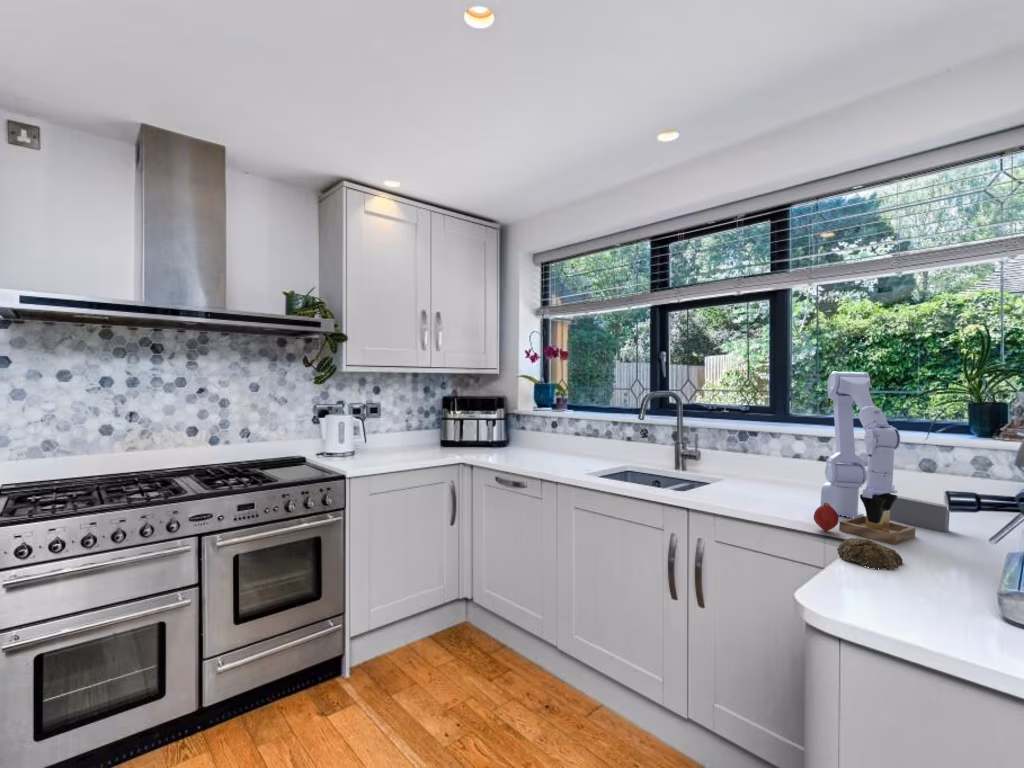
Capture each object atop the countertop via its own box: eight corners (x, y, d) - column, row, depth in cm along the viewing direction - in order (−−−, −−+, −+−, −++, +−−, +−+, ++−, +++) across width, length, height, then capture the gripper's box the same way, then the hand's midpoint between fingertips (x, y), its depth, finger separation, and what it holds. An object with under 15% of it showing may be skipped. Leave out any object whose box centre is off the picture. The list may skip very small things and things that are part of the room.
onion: (815, 526, 144) (816, 498, 144) (839, 531, 140) (840, 502, 140) (811, 531, 139) (812, 502, 139) (836, 536, 136) (837, 506, 136)
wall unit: (886, 518, 154) (887, 495, 154) (891, 517, 156) (892, 494, 156) (944, 532, 142) (946, 507, 142) (948, 530, 144) (950, 505, 144)
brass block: (865, 529, 140) (866, 507, 139) (872, 527, 142) (873, 506, 142) (882, 533, 136) (883, 511, 136) (888, 531, 138) (890, 509, 138)
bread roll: (844, 547, 128) (845, 527, 128) (905, 562, 119) (907, 540, 119) (828, 559, 119) (829, 538, 119) (893, 576, 110) (895, 553, 110)
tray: (839, 530, 141) (839, 521, 141) (860, 523, 148) (861, 515, 148) (894, 544, 130) (894, 535, 130) (914, 536, 137) (915, 527, 137)
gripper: (885, 476, 131) (882, 529, 132) (908, 472, 139) (905, 521, 140) (855, 471, 137) (852, 521, 138) (878, 467, 145) (876, 514, 146)
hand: (877, 521), depth 139 cm, fingers open, 5 cm apart
